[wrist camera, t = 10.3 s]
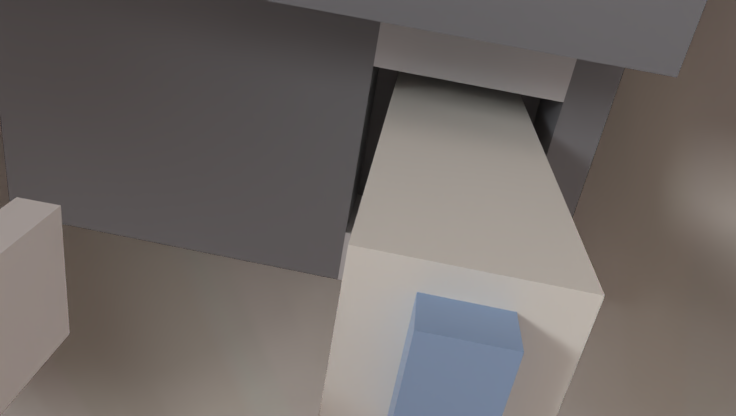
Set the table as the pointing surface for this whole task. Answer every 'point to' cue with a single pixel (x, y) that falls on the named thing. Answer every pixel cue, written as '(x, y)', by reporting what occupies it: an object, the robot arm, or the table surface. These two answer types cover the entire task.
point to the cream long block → (459, 266)
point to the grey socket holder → (287, 104)
